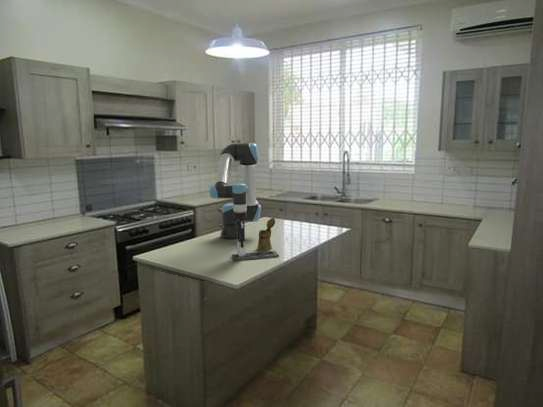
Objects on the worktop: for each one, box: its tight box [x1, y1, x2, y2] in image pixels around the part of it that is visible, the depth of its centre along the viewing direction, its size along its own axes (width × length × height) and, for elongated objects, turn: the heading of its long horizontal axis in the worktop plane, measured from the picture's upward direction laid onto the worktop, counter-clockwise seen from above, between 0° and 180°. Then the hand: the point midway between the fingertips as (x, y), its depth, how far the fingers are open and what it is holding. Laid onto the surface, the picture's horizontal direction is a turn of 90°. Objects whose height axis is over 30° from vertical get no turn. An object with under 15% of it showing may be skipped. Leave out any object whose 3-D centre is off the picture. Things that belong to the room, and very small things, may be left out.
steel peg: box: [236, 238, 246, 257], centre depth 221 cm, size 4×4×9 cm
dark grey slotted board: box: [231, 250, 280, 262], centre depth 224 cm, size 9×26×1 cm, turn 104°
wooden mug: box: [256, 217, 276, 251], centre depth 241 cm, size 9×14×18 cm, turn 139°
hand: (241, 251), depth 222 cm, fingers closed on steel peg, 4 cm apart
